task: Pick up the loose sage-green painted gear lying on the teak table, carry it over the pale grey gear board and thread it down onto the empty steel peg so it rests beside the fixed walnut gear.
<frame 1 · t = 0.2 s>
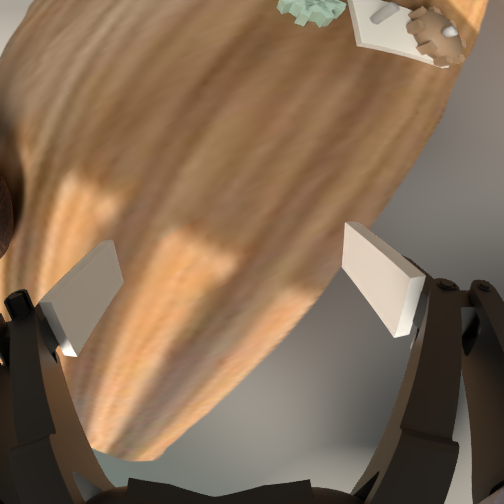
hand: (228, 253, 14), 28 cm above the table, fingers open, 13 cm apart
gear board: (399, 31, 30), on the table
loose gear: (307, 3, 28), on the table
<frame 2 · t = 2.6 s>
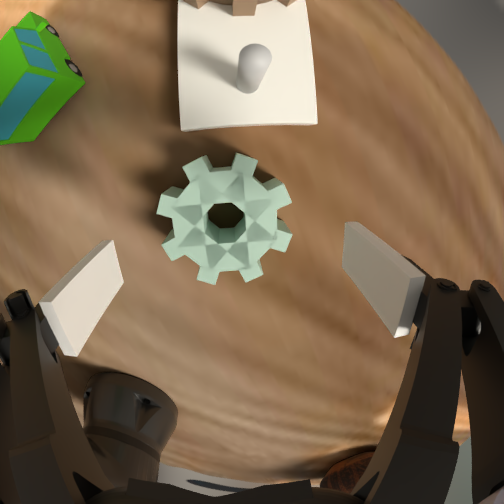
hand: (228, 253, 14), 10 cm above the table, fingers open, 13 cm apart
brown wooden bulbous vase: (353, 461, 51), on the table
toy car: (43, 74, 17), on the table
gear board: (242, 27, 18), on the table
loose gear: (225, 211, 24), on the table
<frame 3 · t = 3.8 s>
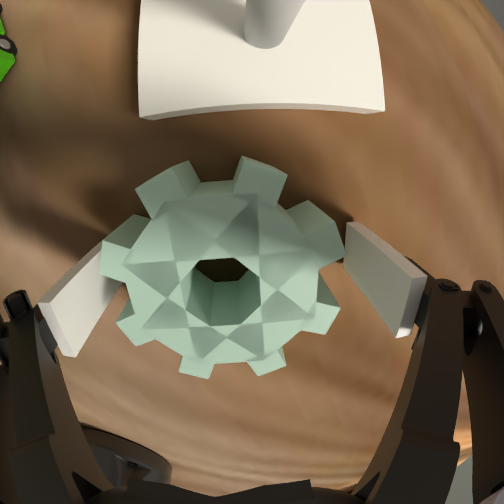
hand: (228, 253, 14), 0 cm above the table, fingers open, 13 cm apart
loose gear: (223, 255, 15), on the table
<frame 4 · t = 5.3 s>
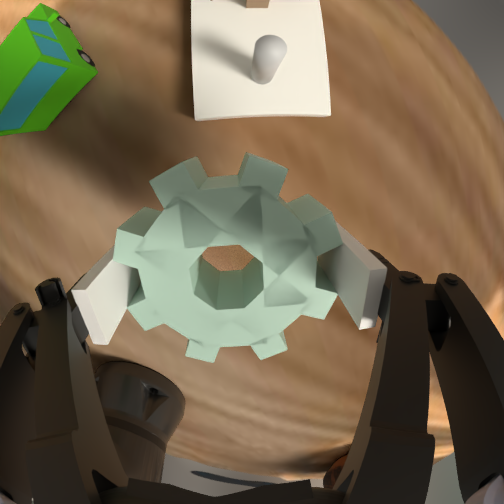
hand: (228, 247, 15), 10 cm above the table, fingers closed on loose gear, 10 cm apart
brown wooden bulbous vase: (357, 456, 52), on the table
toy car: (54, 65, 17), on the table
gear board: (256, 19, 17), on the table
loose gear: (228, 245, 16), point 10 cm above the table, touching gripper
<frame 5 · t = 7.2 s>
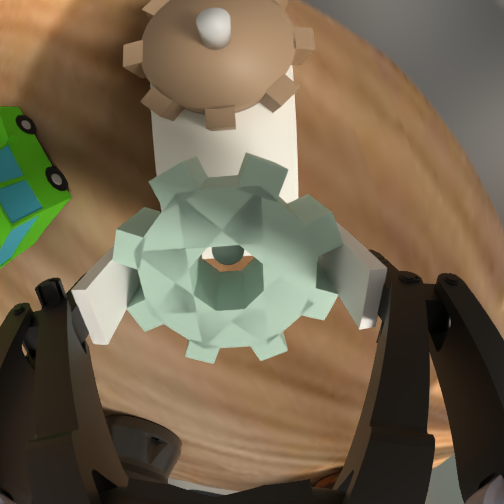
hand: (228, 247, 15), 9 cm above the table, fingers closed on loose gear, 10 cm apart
brown wooden bulbous vase: (339, 476, 55), on the table
toy car: (29, 171, 20), on the table
gear board: (224, 135, 21), on the table
loose gear: (228, 246, 15), point 8 cm above the table, touching gripper
when the fingers open (4 cm above the table, at t = 9.4 s): loose gear drops 2 cm, resting on gear board.
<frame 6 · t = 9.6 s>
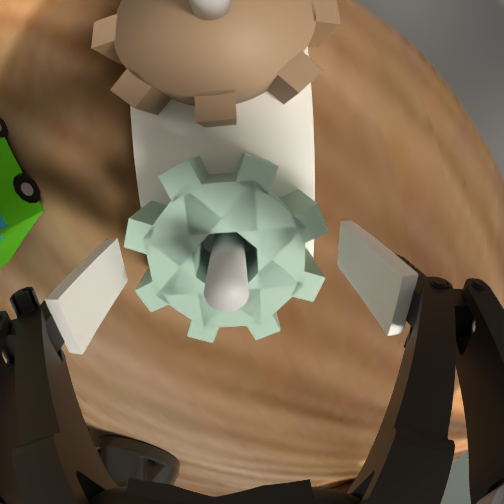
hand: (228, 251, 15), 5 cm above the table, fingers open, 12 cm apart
brown wooden bulbous vase: (342, 488, 50), on the table
toy car: (2, 179, 16), on the table
gear board: (222, 132, 16), on the table
loose gear: (227, 236, 17), point 2 cm above the table, touching gear board
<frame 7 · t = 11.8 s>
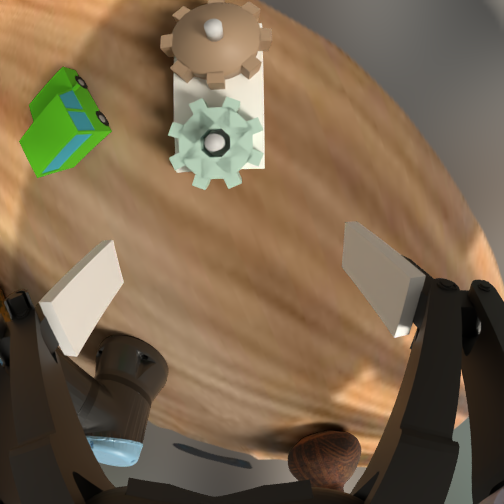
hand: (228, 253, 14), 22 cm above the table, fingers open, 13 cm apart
brown wooden bulbous vase: (319, 439, 65), on the table
toy car: (77, 116, 29), on the table
gear board: (219, 94, 30), on the table
loose gear: (218, 142, 31), point 2 cm above the table, touching gear board
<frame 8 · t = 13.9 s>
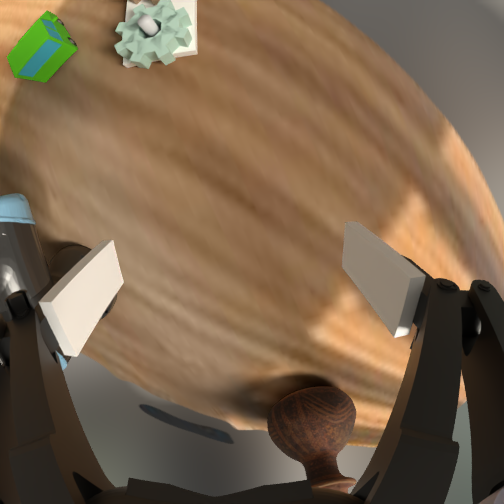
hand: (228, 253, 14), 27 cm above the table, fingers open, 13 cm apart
brown wooden bulbous vase: (306, 400, 61), on the table
toy car: (54, 47, 26), on the table
gear board: (162, 10, 27), on the table
loose gear: (157, 37, 27), point 2 cm above the table, touching gear board
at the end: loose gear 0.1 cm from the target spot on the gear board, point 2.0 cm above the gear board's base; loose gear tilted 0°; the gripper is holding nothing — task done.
